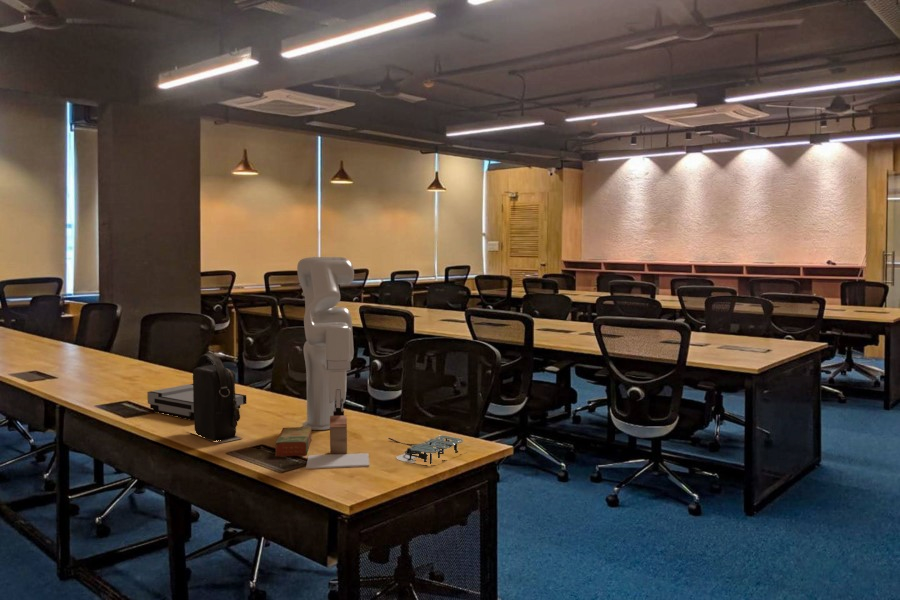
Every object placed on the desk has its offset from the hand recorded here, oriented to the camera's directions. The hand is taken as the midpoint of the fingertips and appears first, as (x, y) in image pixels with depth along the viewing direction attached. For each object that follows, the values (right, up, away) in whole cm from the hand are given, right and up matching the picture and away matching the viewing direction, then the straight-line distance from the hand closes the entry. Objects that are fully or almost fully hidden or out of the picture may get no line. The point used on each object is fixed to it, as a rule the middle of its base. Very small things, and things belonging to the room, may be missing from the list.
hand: (338, 423), depth 222 cm
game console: (-63, -6, +55) cm, 84 cm away
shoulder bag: (-46, -8, +20) cm, 50 cm away
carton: (-15, -9, +5) cm, 18 cm away
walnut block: (0, -8, -1) cm, 8 cm away
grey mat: (+1, -10, -10) cm, 14 cm away
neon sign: (+23, -9, +2) cm, 25 cm away
